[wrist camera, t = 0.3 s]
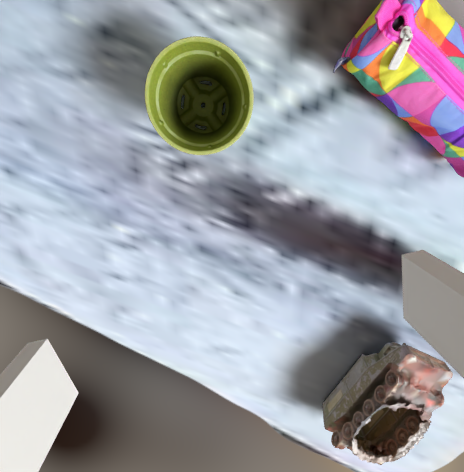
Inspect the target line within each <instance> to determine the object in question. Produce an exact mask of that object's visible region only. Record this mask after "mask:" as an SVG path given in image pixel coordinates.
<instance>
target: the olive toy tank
mask: <svg viewBox="0 0 464 472" xmlns="http://www.w3.org/2000/svg"><path fill="white" fill-rule="evenodd" d="M452 375H453V373H452V372H451V370H450V369H449V368H448V366H447V365H446V363H445V362H443V361H441V360H439V359H436V358H434V357H432V356H430V355H428V354H426V353H423V352H421V351H419V350H417V349H415V348H412V347H411V346H408V345H406V344H405V343H403V345H399V344H397V343H395V342H391V343H387V344H386V345H385V346H384V347H383V348H382V349H381V351H380V352H379V353H378V354H377V353H374V354H370V355H368V356H366V355H364V354H362V355H361V357H360V358H359V359H358V360H357V362H356V363H355V364H354V365H353V367H352V368H351V369H350V371H349V372H348V373H347V374H346V376H345V377H343V379H342V380H341V382H340V383H339V384H338V385H337V387H336V388H335V389H334V390H333V391H332V392H331V394H330V395H329V396H328V397H327V399H326V400H325V401H324V402H323V404H322V405H323V418H324V427H325V429H326V430H328V431H331V432H334V433H333V435H332V439H331V441H332V440H333V441H332V445H333V446H335V448H339V449H344V448H345V447H347V448H348V449H350V450H351V451H353V454H354V455H357V457H359V459H360V460H362V461H363V460H367V462H372V463H378V464H380V465H382V464H383V463H384V462H389V461H390V462H392V461H395V460H398V459H399V458H401V457H403V456H405V455H406V454H407V453H408V452H409V450H411V449H412V448H414V444H415V443H416V445H417V444H418V443H419V440H421V439H422V438H423V437H422V436H424V435H423V433H426V431H427V429H428V428H429V425H430V423H431V421H430V420H429V419H430V418H431V416H432V412H433V411H434V410H435V409H437V408H439V407H441V406H442V405H443V403H444V397H443V395H442V389H443V387H444V386H445V385H446V384H447V383H448V381H449V380H450V379H451V378H452Z"/></svg>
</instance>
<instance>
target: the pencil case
mask: <svg viewBox="0 0 464 472" xmlns="http://www.w3.org/2000/svg"><path fill="white" fill-rule="evenodd" d="M340 65H342V66H343V68H344V69H346V70H347V71H348V72H350V73H351V74H353V75H354V76H355V77H356V78H357V79H358V80H359V81H360V83H361V84H362V85H363V86H364V87H365V88H366V89H367V90H368V91H369V92H370V93H371V94H372V95H373V96H374V97H376V98H377V99H378V100H380V101H381V102H382V103H383V104H384V105H386V106H387V107H388V108H389V109H390V110H391V111H392V112H393V113H394V114H396V115H397V116H398V117H399V118H401V119H402V120H404V121H407V122H408V123H409V125H410V126H411V127H412V128H413V129H414V130H415V131H417V132H418V133H420V135H421V136H422V137H423V138H424V139H426V140H427V141H428V142H429V143H430V144H431V145H432V146H433V147H435V148H436V150H437V151H438V152H439V153H440V154H441V155H442V156H444V157H445V158H446V159H447V161H448V162H449V163H450V165H451V166H452V167H453V168H454V170H455V171H456V173H457V174H458V175H460V176H462V177H464V29H463V28H462V27H461V26H460V25H459V24H458V23H457V22H456V21H455V20H454V19H453V18H452V17H451V16H450V15H449V14H448V13H447V12H446V11H445V10H444V9H443V8H442V6H441V5H440V4H439V3H438V2H437V0H381V2H380V3H379V5H378V6H377V7H376V9H375V10H374V11H373V12H372V14H371V15H370V16H369V17H368V18H367V19H366V21H365V22H364V24H363V25H362V27H361V28H360V30H359V31H358V32H357V33H356V35H355V36H354V37H353V38H352V40H351V41H350V42H349V43H348V45H347V46H346V48H345V49H344V51H343V54H342V57H341V58H340V59H339V60H338V61H337V62H336V64H335V67H334V70H333V73H335V70H336V69H337V68H338V67H339V66H340Z"/></svg>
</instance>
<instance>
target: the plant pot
mask: <svg viewBox="0 0 464 472" xmlns="http://www.w3.org/2000/svg"><path fill="white" fill-rule="evenodd" d="M201 81H209V82H211V83H212V86H209V85H207V84H202V83H200V82H201ZM182 96H185V99H184V108H183V109H182V108H181V98H182ZM253 100H254V97H253V87H252V83H251V79H250V76H249V73H248V71H247V69H246V67H245V65H244V64H243V62H242V61H241V59H240V58H239V57H238V55H237V54H236V53H235V52H234V51H233V50H232V49H230V48H229V47H228V46H226V45H225V44H223V43H221V42H219V41H217V40H214V39H211V38H207V37H198V36H196V37H187V38H183V39H180V40H178V41H175V42H173V43H172V44H170V45H168V46H167V47H166V48H165V49H163V50H162V51H161V52H160V53H159V55H158V56H157V57H156V59H155V60H154V62H153V63H152V65H151V67H150V69H149V72H148V75H147V78H146V83H145V104H146V109H147V113H148V116H149V119H150V121H151V123H152V124H153V126H154V128H155V130H156V131H157V132H158V134H159V135H160V136H161V137H162V138H163V139H164V140H165V141H166V142H167V143H168V144H169V145H171V146H172V147H174V148H176V149H177V150H180V151H182V152H185V153H188V154H194V155H208V154H213V153H217V152H220V151H222V150H224V149H226V148H228V147H229V146H231V145H232V144H233V143H234V142H236V141H237V140H238V139H239V138H240V136H241V135H242V134H243V132H244V131H245V129H246V127H247V125H248V123H249V121H250V118H251V114H252V110H253ZM223 102H224V103H225V104H226V108H225V114H223V115H222V109H223ZM202 103H205V107H204V108H202V107H201V104H202ZM195 125H199V126H206V127H207V128H206V129H204V130H203V129H198V128H196V127H195Z"/></svg>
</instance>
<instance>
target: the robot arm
mask: <svg viewBox="0 0 464 472" xmlns="http://www.w3.org/2000/svg"><path fill="white" fill-rule="evenodd" d="M402 280H403V313H404V319H405V320H406V321H407V322H408V323H409V324H410V325H411V326H412V327H413V328H414V329H415V330H416V331H417V332H418V333H419V334H420V335H421V336H422V337H423V338H424V339H425V340H426V341H427V342H428V343H429V344H430V345H431V346H432V347H433V348H434V349H435V350H436V351H437V352H438V353H439V354H440V355H441V356H442V357H443V358H444V359H445V360H446V361H447V362H448V363H449V364H450V365H451V366H452V367H453V368H454V369H455V370H456V371H457V372H458V373H459V374H460V375H461V376H462V377H463V378H464V273H462V272H460V271H459V270H457V269H455V268H453V267H452V266H450V265H448V264H447V263H445V262H443V261H441V260H440V259H438V258H436V257H435V256H433V255H431V254H429V253H428V252H426V251H424V250H420V251H416V252H412V253H408V254H403V255H402ZM77 395H78V391H77V389H76V388H75V386H74V384H73V382H72V381H71V379H70V377H69V375H68V374H67V372H66V370H65V369H64V367H63V365H62V363H61V362H60V360H59V358H58V356H57V355H56V353H55V351H54V349H53V347H52V346H51V344H50V343H49V340H48V339H44V340H40V341H35V342H31V343H27V345H26V346H25V347H24V348H23V349H22V350H21V352H20V353H19V354H18V355H17V356H16V357H15V358H14V360H13V361H12V362H11V363H10V364H9V365H8V366H7V368H6V369H5V370H4V371H3V372H2V373H1V375H0V472H38V471H39V469H40V467H41V465H42V463H43V461H44V459H45V457H46V456H47V454H48V452H49V450H50V448H51V445H52V444H53V442H54V440H55V438H56V436H57V434H58V432H59V430H60V428H61V426H62V424H63V422H64V420H65V418H66V416H67V414H68V413H69V411H70V409H71V407H72V405H73V403H74V401H75V399H76V397H77Z"/></svg>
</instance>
